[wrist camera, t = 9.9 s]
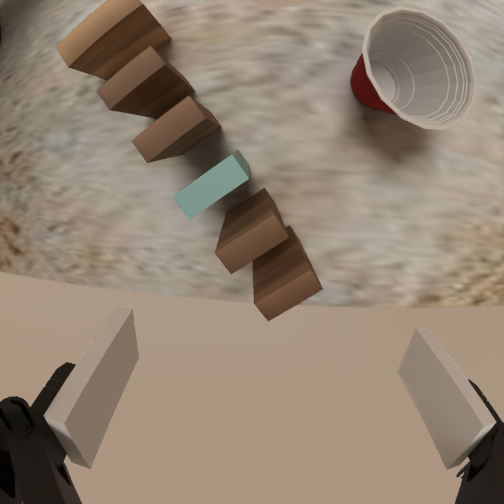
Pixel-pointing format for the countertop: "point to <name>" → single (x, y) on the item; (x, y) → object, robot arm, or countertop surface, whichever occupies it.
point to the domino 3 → (213, 185)
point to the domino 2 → (176, 131)
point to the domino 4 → (250, 231)
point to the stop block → (111, 38)
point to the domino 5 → (283, 277)
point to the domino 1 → (145, 86)
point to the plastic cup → (415, 69)
